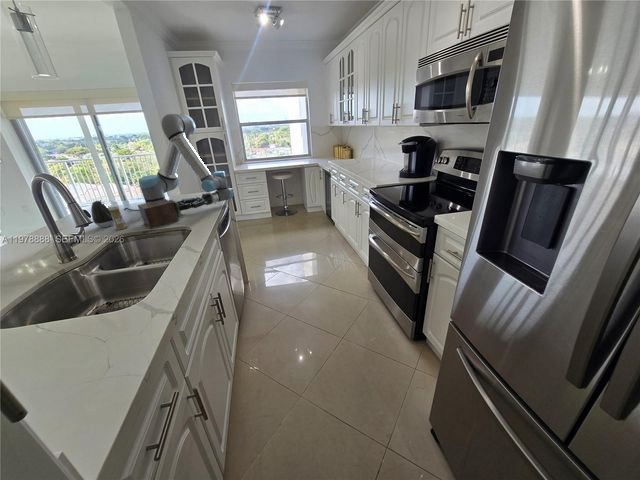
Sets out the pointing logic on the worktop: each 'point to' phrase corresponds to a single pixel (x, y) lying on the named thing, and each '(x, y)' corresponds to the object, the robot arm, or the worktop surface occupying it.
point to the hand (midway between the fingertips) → (175, 206)
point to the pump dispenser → (101, 214)
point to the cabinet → (158, 213)
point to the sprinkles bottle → (117, 217)
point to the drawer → (177, 208)
